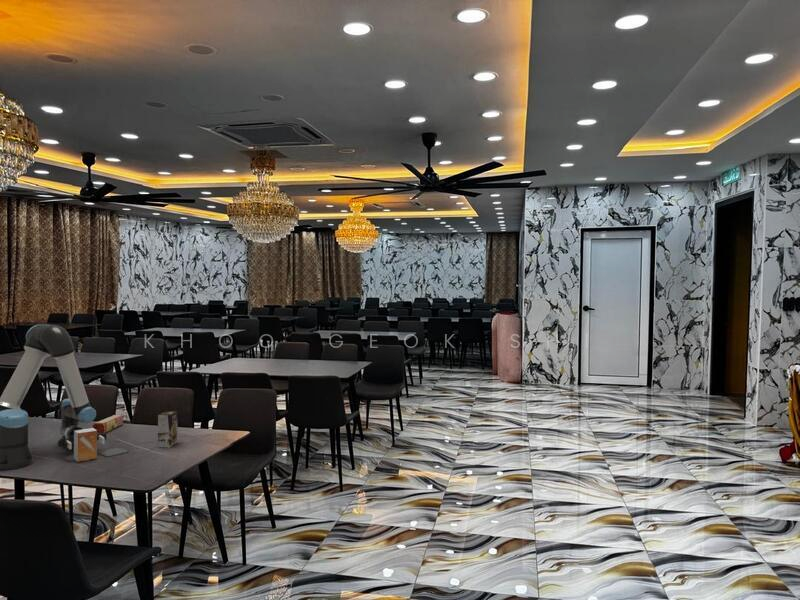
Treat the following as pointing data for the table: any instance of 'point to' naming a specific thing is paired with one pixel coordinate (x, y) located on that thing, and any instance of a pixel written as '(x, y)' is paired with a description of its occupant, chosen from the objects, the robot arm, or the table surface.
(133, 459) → the table surface
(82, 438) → the small box
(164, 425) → the coffee box
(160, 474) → the table surface
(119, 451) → the gray slab
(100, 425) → the snack package
